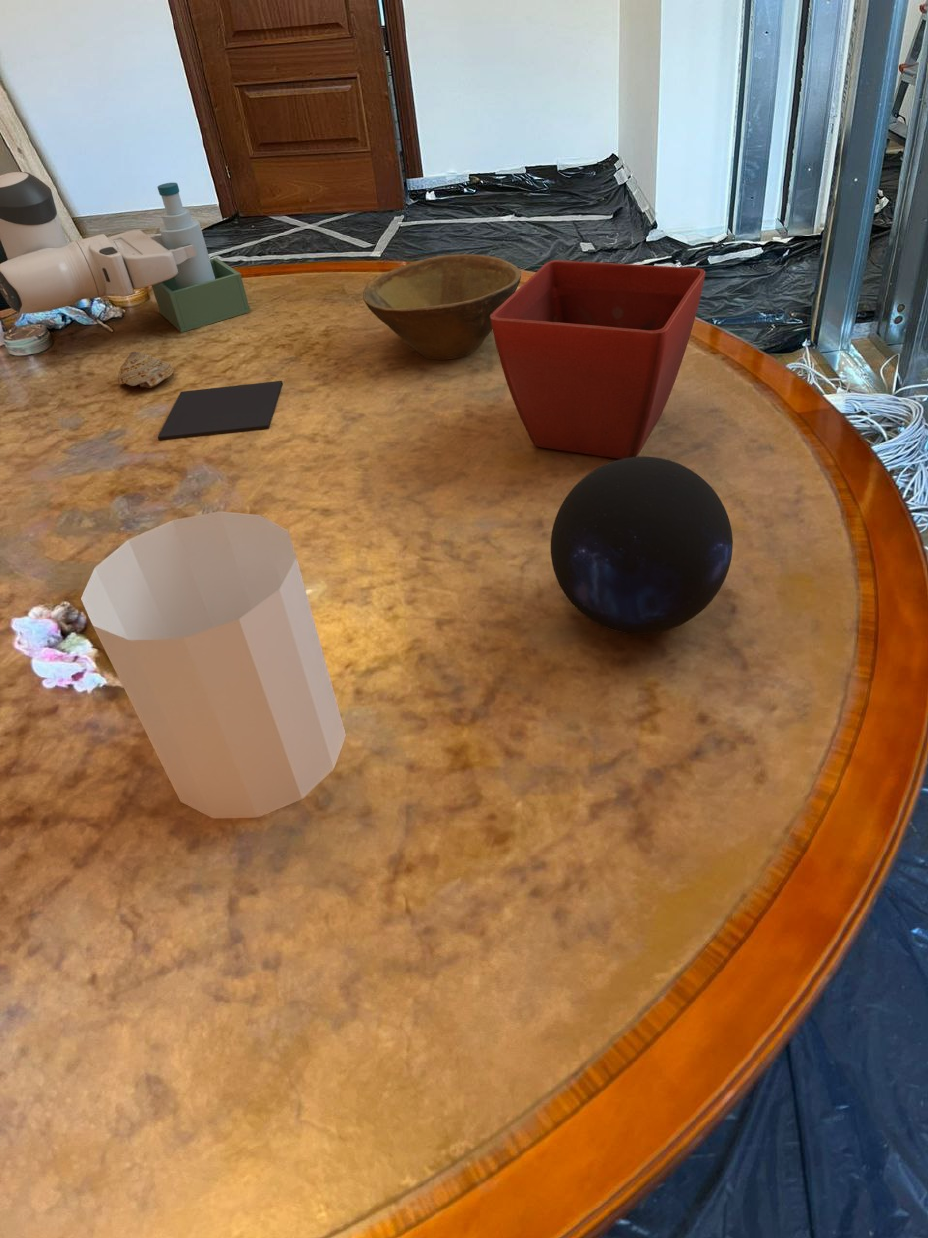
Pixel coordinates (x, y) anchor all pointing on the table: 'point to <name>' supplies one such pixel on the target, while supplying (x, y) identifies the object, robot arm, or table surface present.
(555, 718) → the table surface
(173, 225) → the bottle
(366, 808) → the table surface
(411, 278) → the bowl
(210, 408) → the mat
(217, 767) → the container
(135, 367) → the seashell
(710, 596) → the decorative sphere
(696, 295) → the flower pot
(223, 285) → the green open box
